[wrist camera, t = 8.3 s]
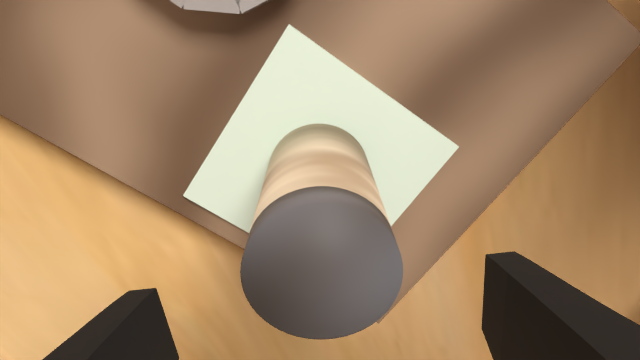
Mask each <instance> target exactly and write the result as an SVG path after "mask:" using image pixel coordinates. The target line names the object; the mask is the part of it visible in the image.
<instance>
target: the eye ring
mask: <svg viewBox="0 0 640 360" xmlns="http://www.w3.org/2000/svg"><path fill="white" fill-rule="evenodd" d="M170 1H171V2H173V3H174V4H176V5H177V6H179V7H180V8H184V9H187V10H199V11H211V12H222V13H234V14H243V13H248V12H250V11H252V10H253V9H255V8H257V7H259V6H261V5H263V4H265V3H267V2H269V1H270V0H170Z"/></svg>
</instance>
